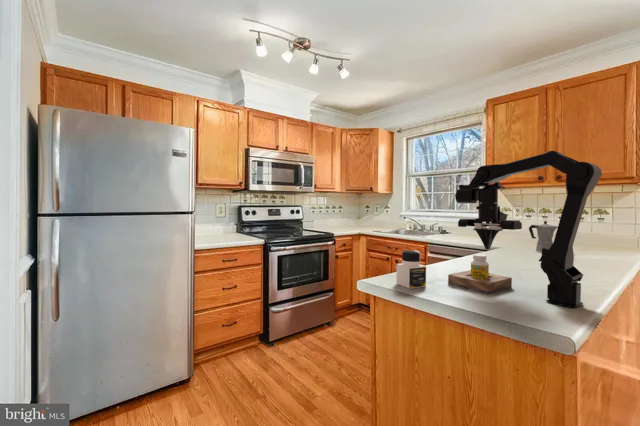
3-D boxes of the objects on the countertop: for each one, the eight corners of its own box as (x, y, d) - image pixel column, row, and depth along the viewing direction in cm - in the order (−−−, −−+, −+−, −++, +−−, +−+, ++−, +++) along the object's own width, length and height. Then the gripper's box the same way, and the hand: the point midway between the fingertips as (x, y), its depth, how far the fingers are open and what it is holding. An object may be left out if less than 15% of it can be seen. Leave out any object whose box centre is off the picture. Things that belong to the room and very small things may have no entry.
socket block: (511, 288, 101) (511, 277, 101) (488, 294, 94) (488, 283, 93) (471, 279, 113) (471, 269, 113) (448, 284, 105) (448, 274, 105)
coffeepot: (552, 250, 184) (553, 220, 183) (562, 252, 175) (562, 221, 174) (524, 249, 187) (525, 220, 186) (532, 251, 178) (533, 221, 177)
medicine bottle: (409, 289, 100) (409, 253, 99) (395, 283, 106) (396, 250, 106) (426, 286, 102) (426, 251, 102) (412, 281, 109) (412, 248, 109)
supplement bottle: (488, 282, 104) (489, 254, 104) (488, 286, 99) (488, 257, 99) (471, 280, 107) (471, 253, 106) (470, 284, 102) (470, 255, 102)
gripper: (530, 202, 98) (529, 250, 99) (474, 203, 114) (474, 244, 115) (513, 202, 93) (512, 253, 93) (457, 203, 108) (456, 246, 109)
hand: (487, 249), depth 102 cm, fingers closed
